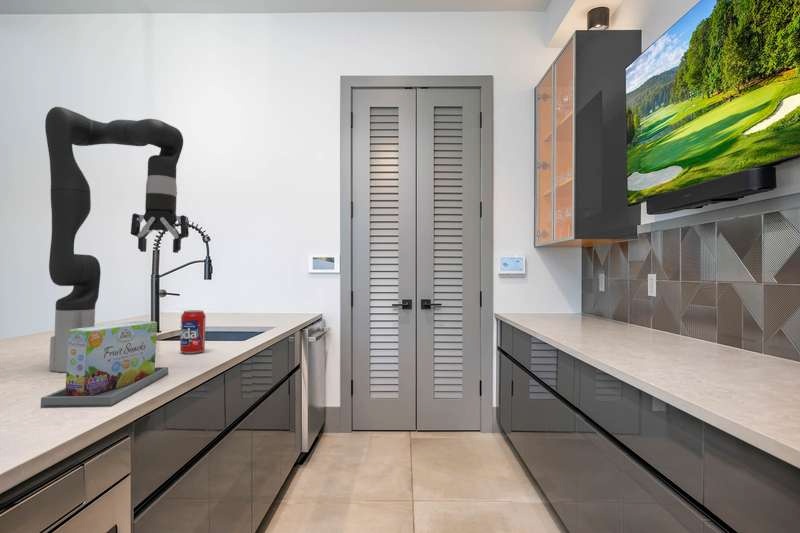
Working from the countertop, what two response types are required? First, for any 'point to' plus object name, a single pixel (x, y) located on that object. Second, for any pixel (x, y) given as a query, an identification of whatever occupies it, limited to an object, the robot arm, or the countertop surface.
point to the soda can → (192, 332)
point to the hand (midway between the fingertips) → (159, 252)
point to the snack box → (109, 357)
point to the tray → (101, 394)
